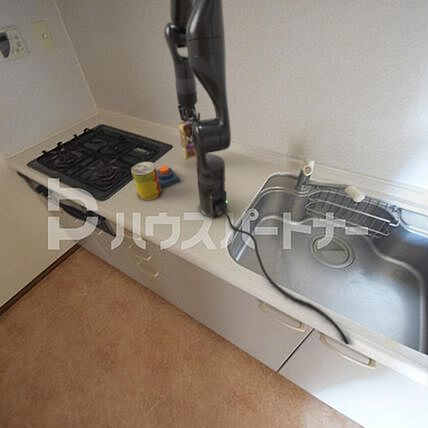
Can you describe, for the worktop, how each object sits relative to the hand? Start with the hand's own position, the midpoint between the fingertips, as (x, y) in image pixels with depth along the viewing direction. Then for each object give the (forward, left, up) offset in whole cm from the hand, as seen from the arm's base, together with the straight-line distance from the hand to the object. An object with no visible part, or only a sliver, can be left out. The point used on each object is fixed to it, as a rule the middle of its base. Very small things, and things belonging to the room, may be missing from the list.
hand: (190, 133), depth 100 cm
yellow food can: (-7, +25, -15) cm, 30 cm away
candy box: (0, 0, -10) cm, 10 cm away
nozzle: (-3, +16, -12) cm, 20 cm away
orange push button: (-3, +16, -15) cm, 22 cm away
